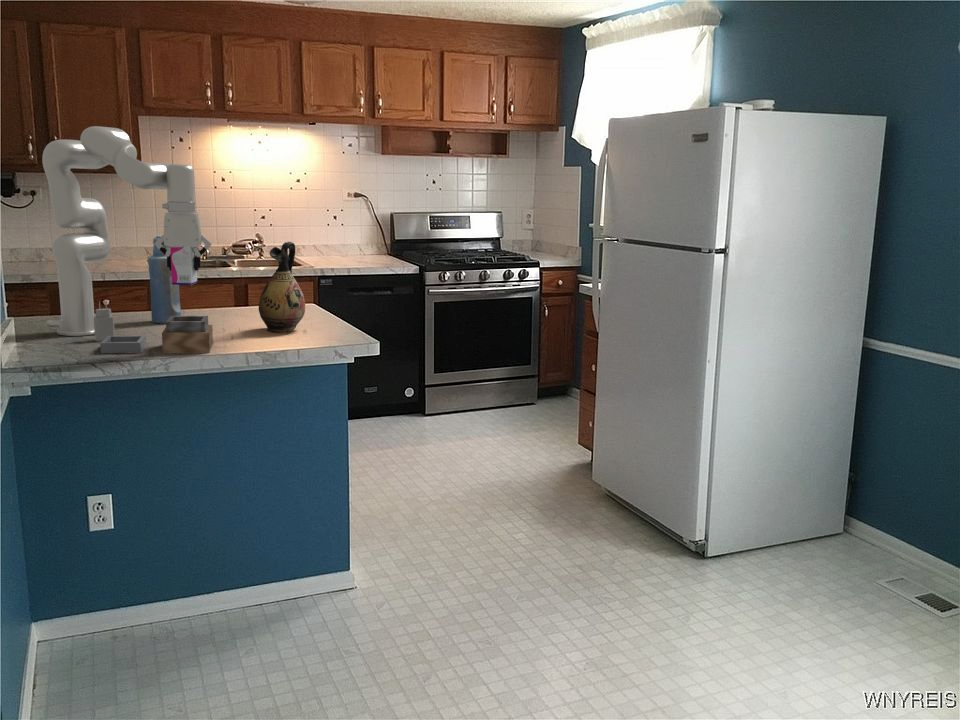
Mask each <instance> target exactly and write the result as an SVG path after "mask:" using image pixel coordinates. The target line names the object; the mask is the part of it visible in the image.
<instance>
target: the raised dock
mask: <svg viewBox="0 0 960 720" xmlns="http://www.w3.org/2000/svg"><path fill="white" fill-rule="evenodd" d="M163 329H164V330H162V332H161V340H162V341H161V345H162V346H161V347H162V354H204V353H210V352H211V350H212V348H213V344H214V336H213V335H214V334H213V324H209V316H208V315H181V316H170V317H169V319H168V320H167V321H166V324H165V328H163Z"/></svg>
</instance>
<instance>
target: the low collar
mask: <svg viewBox="0 0 960 720" xmlns="http://www.w3.org/2000/svg"><path fill="white" fill-rule="evenodd" d="M99 345H100V347H99V348H100V354H141V353H142V352H143V351H144V349H146V347H147V346H146V345H148V344H147V335H115V336H107V337H106V338H105V339H104V340H103V341H100V343H99ZM145 346H146V347H145ZM142 350H143V351H142ZM129 352H130V353H129Z"/></svg>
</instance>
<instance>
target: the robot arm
mask: <svg viewBox="0 0 960 720" xmlns="http://www.w3.org/2000/svg"><path fill="white" fill-rule="evenodd" d="M79 138H80V140H77V139H57V140H53V141H50V142H49V143H48V144H47V145H46V146H45V147H44V149H43V152H42V156H41V157H42V159H41V160H42V167H43V170H44V173H45V176H46V179H47V183H48V188H49V195H50V202H51V204H50V205H51V209H52V216H53V220H54V223H55V225H56V226H58V227H59V228H61V229H64V230H65V229H68V230H74V229H75V230H77V229H78V230H80V229H83V232H73V233H72V232H70V233H64V234H61V235H58V236H57V237H55V239H54V240H53V242H52V248H51V249H52V253H53V258H54V261H55V264H56V271H57V279H58V281H57V282H58V290H59V291H58V293H59V303H60V317H61V318H60V319H58V320H52V319H51V320H48V319H47V322H46V325H47V327H49V328H54V327H55V328H56V327H57V328H58V329H56V334H57V335H60V336H67V337H81V336H83V337H84V336H91V335H95V330H94V317H95V309H94V308H95V305H94V292H93V291H94V290H93V279H92V275H91V272H90V270H89V269H88V267H87V265H86V264H87V263H89V264H90V263H97V262H98V263H99V262H103V261H105V260H106V259H107V258H108V257H109V255H110V251H111V245H110V244H111V243H110V234H109V227H108V219H107V214H106V210H105V207H104V206H103V204H102V203H101V202H100V201H99V200H97V199H95V198H91V197H82V195H81V187H80V183H79V180H78V179H77V177H76V175H75V174H74V173H73V171H71V170H72V169H81V170H82V169H84V170H98V169H99V170H100V169H101V168H105V167H106V166H109V165H110V166H112V167H113V168H114V170H115V173H116V174H117V176H118V178H120V179H121V180H123V181H125V182H127V183H128V184H130V185H131V186H134V187H136V188H138V189H142V190H162V191H163V190H164V191H165V190H166V195H167V196H166V197H167V201H166V202H165V203H162V205H161V206H162V207H161V208H162V209H165V210H167V212H165V213H164V217H163V235H160V236H161V237H160V238H159V239H158V240H157V241H156V242H155V243H153V244H155V246H156V247H157V248H158V249H160V251H161V252H163V253H164V254H165V255H166V256H167V267H169V269H170V271H172V270H171V248H178V247H183V246H191V248H193V250H194V252H195V254H196V255H195V270H196V271H197V272H198V271H199V269H200V268H201V267H202V266H201V257H202V256H203V255H204V253H205V252H206V251H208V250H209V248H210V247H212V243H211V242H210V241H209V240H208V239H207V238H206V237H205V236H203V235H202V229H201V228H202V227H201V222H200V217H199V213H197V212H196V192H195V191H196V190H195V169H194V168H193V166H191V165H190V164H177V163H176V164H173V163H166V162H151V161H150V162H149V161H147V162H145V161H141V160H139V159H137V158H138V157H137V156H138V152H137V151H138V150H137V148H136V146H134V144H133V143H132V142H131V139H130V136H129V135H128V134H127V132H126V131H124V130H123V129H121V128H117V127H108V126H98V125H97V126H96V125H94V126H89V127H87V128H85V129H84V130H83V131H82V132H81V134H80V137H79ZM163 241H164V245H165V246H166V247H168V249H166V248H164V247H163V246H162V245H161V243H162V242H163ZM202 243H203V244H204V246H203V247H202V248H201V249H200V246H202Z"/></svg>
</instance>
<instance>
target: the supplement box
mask: <svg viewBox="0 0 960 720" xmlns="http://www.w3.org/2000/svg"><path fill="white" fill-rule="evenodd" d="M195 255H196V254H195V252H194V250H193V248H191V246H183V247H178V248H171V270H172V285H179V286H193V285H195V284H197V283H198V271H196V270H195Z"/></svg>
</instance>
